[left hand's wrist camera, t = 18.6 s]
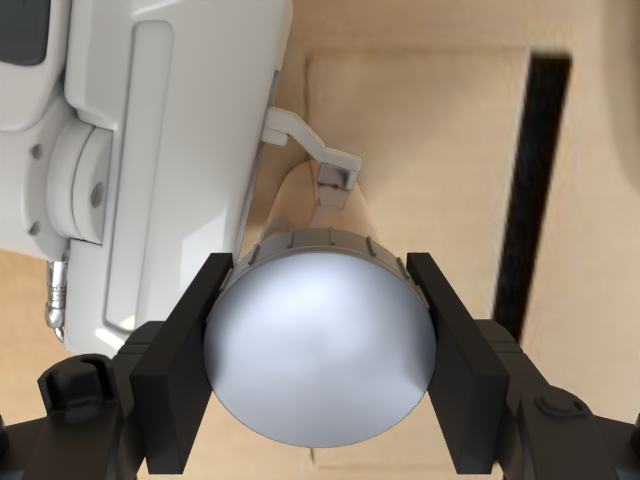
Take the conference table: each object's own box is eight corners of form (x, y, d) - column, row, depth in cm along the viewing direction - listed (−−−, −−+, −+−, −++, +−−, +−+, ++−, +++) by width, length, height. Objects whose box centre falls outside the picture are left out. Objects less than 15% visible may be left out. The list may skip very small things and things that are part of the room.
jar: (337, 252, 27) (357, 438, 13) (264, 217, 26) (197, 375, 12) (376, 182, 26) (451, 305, 11) (300, 143, 25) (273, 220, 10)
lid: (176, 276, 12) (152, 308, 10) (379, 189, 11) (390, 207, 9) (272, 428, 14) (265, 475, 12) (450, 365, 13) (470, 406, 11)
